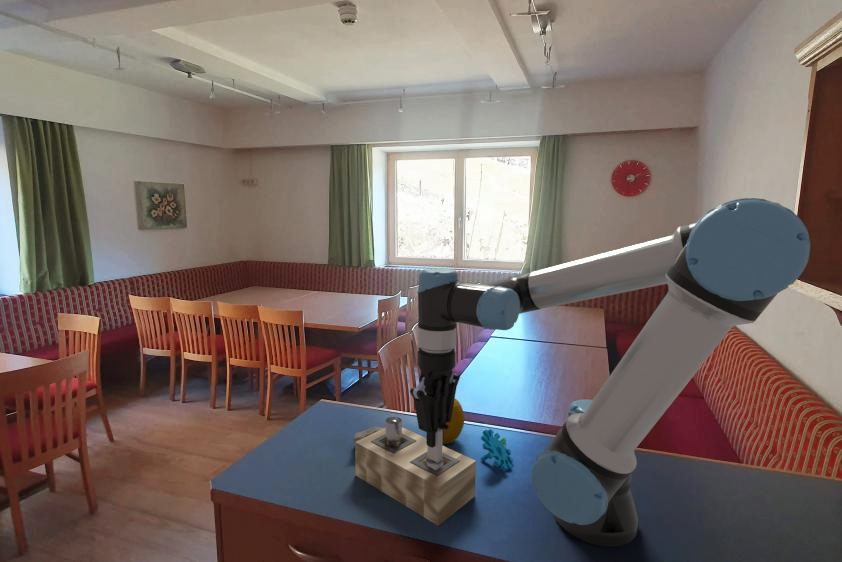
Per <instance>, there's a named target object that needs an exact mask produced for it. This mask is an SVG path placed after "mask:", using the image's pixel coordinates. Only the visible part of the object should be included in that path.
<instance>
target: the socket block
mask: <svg viewBox="0 0 842 562" xmlns="http://www.w3.org/2000/svg"><path fill="white" fill-rule="evenodd" d="M382 428H383V429H381V430H379V431H377V432H375V433H373V434H371V435H369V436H367V437H365V438H363V439H361V440H359V441H356V442H355V445H354V447H355V448H354V449H355V452H354V453H355V456H354V457H355V460H354V461H355V476H357V478H359V479H361V480H362V481H364V482H366V483H368V484H369V485H371V486H372V487H374V488H376V489H378V490H379V491H380V492H381V493H384V494H385V495H387V496H388V497H390V498H392V499H393V500H396V501H397V502H398V503H400V504H402V505H403V506H405V507H407V508H408V509H409V510H412V511H413V512H415V513H416V514H418V515H420V516H421V517H423V518H425V519H426V520H428V521H429V522H431V523H433V524H434V525H436V526H440V525H441V524H442V523H444V522H445V521H447V519H449V518H450V517H451V516H452V515H454V514H455V513H456V512H457V511H458V510H460V509H461V508H462V507H464V506H465V505H466V504H467V503H468V502H470V501H471V500H473V498H475V497H476V474H477V473H476V471H477V470H476V468H477V460H476V459H473V458H470V457H468V456H466V455H464V454H462V453H460V452H457V451H455V450H453V449H452V448H451V449H450V448H449V447H446V446H445V445H442V458H443V459H444V466H443V467H441V468H440V469H438V470H434V469H432V468H430V467H428V466H426V458H427V450H428V446H427V444H426V437H424V436H422V435H420V434H418V433H416V432H414V431H411V430H409V429H407V428H405V427H403V426H402V444H401V445H400V446H398V447H396V448H394V449H393V448H391V447H389V446H387V445H386V431H385V427H382Z"/></svg>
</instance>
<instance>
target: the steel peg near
mask: <svg viewBox="0 0 842 562" xmlns="http://www.w3.org/2000/svg"><path fill="white" fill-rule="evenodd" d="M426 466H428V467H430V468H432V469H434V470H438V469H440V468H441V467H443V466H444V459H443V458H442V460H441V461H439V462H438V463H437V462H435V461H433V460H431V459H429V458H426Z"/></svg>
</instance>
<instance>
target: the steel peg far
mask: <svg viewBox="0 0 842 562" xmlns="http://www.w3.org/2000/svg"><path fill="white" fill-rule="evenodd" d="M402 423H403V419H402V418H401V417H399V416H389V417H387V418H385V427H384V428H385V431H386V445H387V446H389V447H391V448H393V449H394V448H396V447H398V446H400V445H401V444H402V427H403V424H402Z"/></svg>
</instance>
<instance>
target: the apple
mask: <svg viewBox="0 0 842 562" xmlns="http://www.w3.org/2000/svg"><path fill="white" fill-rule="evenodd" d="M446 415H447V414H446ZM465 419H466V418H465V413H464V409H463V406H462V404H461V403H460V401H459V400H457V398H455V399H454V405H453V411H452V417H451V421H450V422H447V423H446V425H448V426H449V427H448V429H447V430H445V429H444V439H443V442H442V445H446V444H447V445H449V444H452V443H454V442H455V441H456V440H457V439H458V438H459V437H460V435H461V433H462V431H463V429H464V425H465Z"/></svg>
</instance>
